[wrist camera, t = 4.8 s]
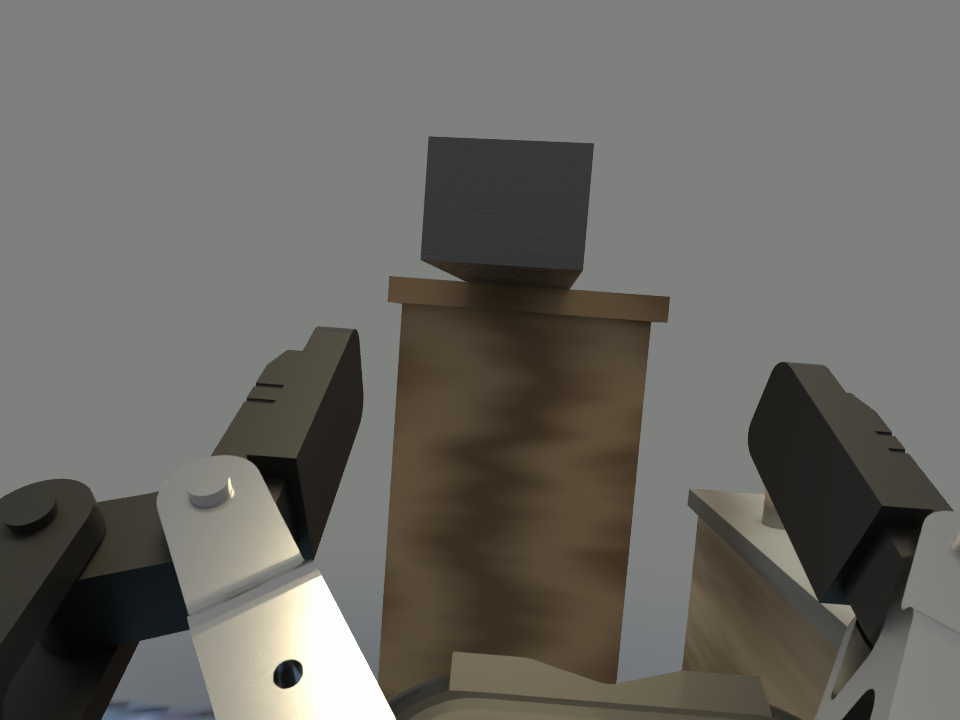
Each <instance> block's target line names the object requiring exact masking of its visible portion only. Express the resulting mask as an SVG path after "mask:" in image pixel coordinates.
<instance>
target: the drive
mask: <svg viewBox="0 0 960 720" xmlns="http://www.w3.org/2000/svg"><path fill="white" fill-rule="evenodd" d="M593 148H594V144H592V143H570V142H546V141H522V140H497V139H475V138H451V137H429V141H428V156H427V171H426V186H425V201H424V217H423V231H422V247H421V260H422V261H424V262H426V263H428V264H431V265H433V266H435V267H437V268H439V269H441V270H443V271H445V272H447V273H449V274H451V275H453V276H455V277H458V278H460V279H462V280H464V281H466V282H475V283H488V284H502V285H515V286H529V287H542V288H556V289H570V288H571V286H572V285H573V283H574V282H575V281H576V279H577V278H578V277H579V275H580V273H581V272H582V271H583V263H584V251H585V239H586V228H587V216H588V205H589V194H590V182H591V170H592V159H593Z"/></svg>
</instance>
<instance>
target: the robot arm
mask: <svg viewBox="0 0 960 720" xmlns="http://www.w3.org/2000/svg"><path fill="white" fill-rule="evenodd" d="M362 410H363V383H362V370H361V356H360V342H359V335H358V332H357V330H356V329H345V328H331V327H316V328H315V330H314V331H313V334H312V335H311V337H310V339H309V341H308V342H307V344H306V346H305V348H304V350H303V351H295V350H287V351H285V352H284V353H283V354H281V355H280V356H279V357H277V358H276V359H274V360H273V361H272V362H270V363H269V364H268V365H267V366H266V367H265V369H264V371H263V372H262V374H261V376H260V377H259V379H258V381H257V382H256V387H253V389H252V390H251V392H250V394H249V395H248V397H247V401H246V402H244V403H243V405H242V406H241V408H240V410H239V411H238V413H237V414H236V416H235V418H234V420H233V421H232V423H231V424H230V426H229V427H228V429H227V431H226V432H225V434H224V436H223V437H222V439H221V441H220V442H219V444H218V445H217V447H216V449H215V450H214V452H213V453H212V455H211V457H206V458H203V459H199V460H197V461H194V462H192V463H190V464H188V465H186V466H184V467H182V468H181V469H179V470H178V471H176V472H175V473H174V474H172V475H171V476H170V477H169V478H168V479H167V481H166V482H165V483H164V484H163V486H162V487H161V489H160V491H158V492H154V493H150V494H144V495H138V496H132V497H127V498H121V499H115V500H108V501H103V502H96V500H95V498H94V496H93V493H92V492H91V490H90V488H88V487H87V486H86V485H85V484H83V483H81V482H78V481H75V480H70V479H53V480H45V481H41V482H37V483H34V484H30V485H27V486H24V487H22V488H20V489H17V490H15V491H13V492H11V493H10V494H7V495H6V496H4V497H2V498H1V499H0V720H101V719H102V717H103V715H104V713H105V711H106V709H107V707H108V705H109V703H110V701H111V699H112V697H113V694H114V692H115V690H116V688H117V686H118V684H119V682H120V680H121V678H122V676H123V674H124V672H125V670H126V668H127V665H128V664H129V662H130V660H131V658H132V656H133V653H134V651H135V649H136V647H137V645H138V643H139V641H141V640H145V639H150V638H155V637H159V636H163V635H167V634H172V633H177V632H181V631H186V630H190V632H191V635H192V639H193V642H194V646H195V649H196V652H197V656H198V659H199V663H200V666H201V669H202V673H203V676H204V680H205V683H206V687H207V690H208V693H209V697H210V701H211V704H212V707H213V711H214V714H215V718H216V720H802V719H800V718H798V717H797V716H795V715H793V714H791V713H789V712H786V711H784V710H782V709H780V708H778V707H776V706H773V705H770V704H768V701H767V698H766V695H765V692H764V689H763V686H762V683H761V680H760V677H758V676H746V675H733V674H721V673H709V672H697V671H684V670H683V671H678V672H674V673H669V674H663V675H658V676H653V677H648V678H643V679H638V680H633V681H628V682H623V683H618V684H604V683H600V682H597V681H594V680H591V679H588V678H585V677H582V676H579V675H576V674H574V673H571V672H568V671H565V670H562V669H559V668H556V667H553V666H550V665H547V664H545V663H542V662H539V661H536V660H533V659H530V658H525V657H513V656H501V655H489V654H476V653H464V652H453V654H452V665H451V675H446V676H441V677H437V678H433V679H430V680H427V681H424V682H421V683H418V684H416V685H413V686H411V687H409V688H407V689H405V690H403V691H401V692H399V693H398V694H396V695H394V696H393V697H391V698H390V699H388V700H387V701H386V699H385V697H384V695H383V694H382V692H381V690H380V688H379V686H378V684H377V682H376V680H375V678H374V676H373V674H372V672H371V670H370V668H369V666H368V665H367V663H366V661H365V659H364V657H363V655H362V653H361V651H360V649H359V647H358V645H357V643H356V641H355V639H354V637H353V635H352V634H351V632H350V630H349V628H348V626H347V624H346V622H345V620H344V618H343V616H342V614H341V612H340V610H339V608H338V606H337V605H336V603H335V601H334V599H333V597H332V595H331V593H330V591H329V589H328V587H327V585H326V583H325V582H324V579H323V577H322V576H321V574H320V572H319V570H318V568H317V567H316V565H315V564H314V562H313V561H312V560H314V558H315V555H316V552H317V549H318V546H319V543H320V540H321V537H322V534H323V531H324V528H325V525H326V522H327V520H328V516H329V514H330V511H331V508H332V505H333V502H334V499H335V496H336V493H337V490H338V487H339V484H340V481H341V478H342V475H343V472H344V469H345V466H346V464H347V461H348V458H349V455H350V451H351V449H352V446H353V443H354V440H355V437H356V434H357V431H358V428H359V425H360V422H361V417H362ZM748 447H749V451H750V455H751V457H752V459H753V461H754V464H755V466H756V468H757V470H758V472H759V475H760V477H761V479H762V481H763V483H764V485H765V487H766V490H767V492H768V494H769V496H770V498H771V500H772V502H773V505H774V507H775V509H776V511H777V513H778V515H779V518H780V520H781V522H782V524H783V526H784V528H785V530H786V533H787V535H788V537H789V539H790V541H791V543H792V545H793V548H794V550H795V552H796V554H797V556H798V558H799V561H800V563H801V565H802V567H803V569H804V571H805V573H806V576H807V578H808V580H809V582H810V584H811V586H812V588H813V591H814V593H815V595H816V597H817V599H818V601H819V603H826V604H839V605H850V606H851V608H852V610H853V612H854V614H855V616H854V618H853V619H852V621H851V622H850V623H849V625H848V627H847V629H846V631H845V634H844V637H843V640H842V643H841V646H840V649H839V652H838V655H837V657H836V660H835V663H834V666H833V669H832V672H831V675H830V678H829V681H828V683H827V686H826V689H825V692H824V695H823V698H822V701H821V704H820V706H819V709H818V712H817V714H816V716H815V718H814V720H960V513H959V512H954V511H953V509H952V508H951V507H950V506H949V504H948V503H947V502H946V501H945V499H944V498H943V497H942V495H941V494H940V493H939V492H938V490H937V489H936V488H935V486H934V485H933V484H932V483H931V481H930V480H929V479H928V478H927V476H926V475H925V474H924V472H923V471H922V470H921V469H920V468H919V466H918V465H917V464H916V462H915V461H914V460H913V459H912V457H911V456H910V455H909V454H906V453H905V448H904V447H903V446H902V444H901V443H900V442H899V441H898V439H897V438H896V437H895V436H892V432H891V430H890V429H889V428H888V427H887V425H886V424H885V423H884V422H883V420H882V419H881V418H880V416H879V415H878V414H877V413H876V412H875V411H874V410H873V409H871V408H870V407H869V406H867V405H866V404H864V403H863V402H862V401H861V400H859V399H858V398H856V397H855V396H854V395H852V394H851V393H846V392H845V390H844V389H843V388H842V387H841V385H840V384H839V382H838V381H837V380H836V378H835V377H834V376H833V375H832V373H831V372H830V370H829V369H828V368H827V367H825V366H824V365H817V364H803V363H789V362H780V363H778V364H777V365H776V366H775V367H774V369H773V371H772V373H771V375H770V377H769V380H768V382H767V385H766V387H765V389H764V392H763V394H762V397H761V399H760V402H759V404H758V406H757V409H756V411H755V413H754V416H753V419H752V421H751V423H750V427H749V432H748Z"/></svg>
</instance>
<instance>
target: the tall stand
mask: <svg viewBox="0 0 960 720" xmlns="http://www.w3.org/2000/svg"><path fill="white" fill-rule="evenodd" d="M669 300H670V297H664V296H650V295H635V294H623V293H610V292H596V291H583V290H569V289H556V288H542V287H529V286H515V285H502V284H488V283H475V282H461V281H448V280H434V279H421V278H406V277H393V276H389V291H388V302H394V303H401V304H402V316H401V333H400V348H399V363H398V379H397V395H396V410H395V425H394V441H393V457H392V473H391V488H390V504H389V518H388V534H387V549H386V566H385V581H384V596H383V612H382V628H381V643H380V658H379V674H378V686H379V688H380V690H381V692H382V694H383V695H384V697H385V699H386V701H387V700H388V699H390V698H391V697H393V696H394V695H396V694H398V693H399V692H401V691H403V690H405V689H407V688H409V687H411V686H413V685H416V684H418V683H421V682H424V681H427V680H430V679H433V678H437V677H441V676H446V675H451V665H452V654H453V652H464V653H476V654H489V655H501V656H513V657H525V658H530V659H533V660H536V661H539V662H542V663H545V664H547V665H550V666H553V667H556V668H559V669H562V670H565V671H568V672H571V673H574V674H576V675H579V676H582V677H585V678H588V679H591V680H594V681H597V682H600V683H604V684H616V680H617V670H618V669H617V668H618V660H619V649H620V639H621V629H622V618H623V607H624V597H625V587H626V576H627V566H628V554H629V546H630V535H631V525H632V515H633V504H634V494H635V483H636V471H637V463H638V452H639V442H640V432H641V420H642V410H643V400H644V390H645V380H646V370H647V359H648V348H649V338H650V327H651V322H665V323H667V321H668V311H669Z"/></svg>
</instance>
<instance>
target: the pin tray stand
mask: <svg viewBox="0 0 960 720" xmlns="http://www.w3.org/2000/svg"><path fill="white" fill-rule="evenodd" d="M688 506H689V507H690V508H691V509H692V510H693V511H694V512H695V513H696V514H697V515H698V524H697V534H696V543H695V553H694V562H693V572H692V581H691V590H690V591H691V592H690V600H689V610H688V619H687V629H686V638H685V647H684V658H683V666H682V671H683V670H684V671H697V672H709V673H721V674H733V675H746V676H758V677H760V680H761V683H762V686H763V689H764V692H765V695H766V698H767V701H768V704H770V705H773V706H776V707H778V708H780V709H782V710H784V711H786V712H789V713H791V714H793V715H795V716H797V717H798V718H800V719H802V720H814V718H815V716H816V714H817V712H818V709H819V706H820V704H821V701H822V698H823V695H824V692H825V689H826V686H827V683H828V681H829V678H830V675H831V672H832V669H833V666H834V663H835V660H836V657H837V655H838V652H839V649H840V646H841V643H842V640H843V637H844V634H845V631H846V629H847V627H848V625H849V623H850V622H851V621H852V619H853V618H854V616H855V614H854V612H853V610H852V608H851V606H850V605H839V604H826V603H819V601H818V599H817V597H816V595H815V593H814V591H813V588H812V586H811V584H810V582H809V580H808V578H807V576H806V573H805V571H804V569H803V567H802V565H801V563H800V561H799V558H798V556H797V554H796V552H795V550H794V548H793V545H792V543H791V541H790V539H789V537H788V535H787V533H786V530H785V528H784V526H783V524H782V522H781V520H780V518H779V515H778V513H777V511H776V509H775V507H774V505H773V502H772V500H771V498H770V496H769V494H768V492H767V490H766V491H765V495H763V494H762V495H761V494H750V493H738V492H737V493H736V492H723V491H712V490H700V489H689V497H688Z"/></svg>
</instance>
